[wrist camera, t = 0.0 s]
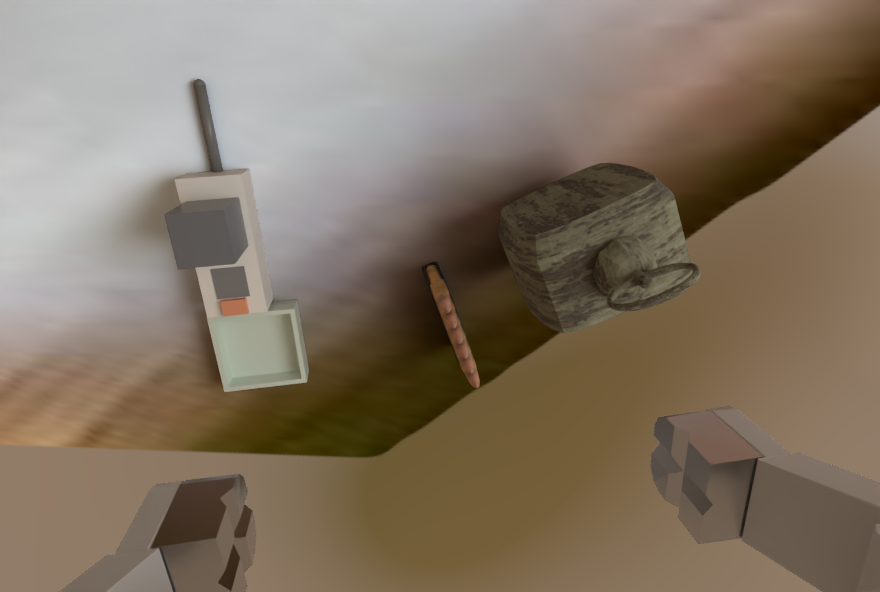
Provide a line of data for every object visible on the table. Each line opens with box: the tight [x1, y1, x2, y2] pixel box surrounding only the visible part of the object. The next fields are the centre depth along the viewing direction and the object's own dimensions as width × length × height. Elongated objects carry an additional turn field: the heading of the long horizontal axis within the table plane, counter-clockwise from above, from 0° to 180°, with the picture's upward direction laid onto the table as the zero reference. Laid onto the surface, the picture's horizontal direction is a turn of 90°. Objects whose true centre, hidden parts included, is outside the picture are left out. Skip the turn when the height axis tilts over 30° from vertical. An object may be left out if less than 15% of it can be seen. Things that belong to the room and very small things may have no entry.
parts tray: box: [207, 300, 309, 392], centre depth 58 cm, size 9×9×3 cm
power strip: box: [174, 79, 273, 318], centre depth 52 cm, size 22×6×5 cm, turn 4°
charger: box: [165, 197, 248, 269], centre depth 49 cm, size 5×5×9 cm
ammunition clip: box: [422, 262, 479, 388], centre depth 56 cm, size 11×2×12 cm, turn 20°
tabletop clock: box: [498, 163, 701, 333], centre depth 48 cm, size 14×9×25 cm, turn 114°
